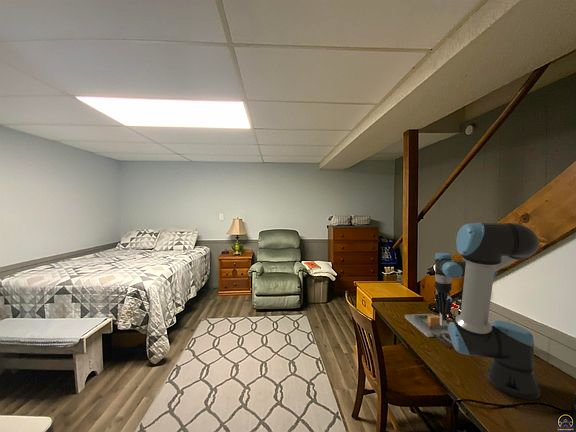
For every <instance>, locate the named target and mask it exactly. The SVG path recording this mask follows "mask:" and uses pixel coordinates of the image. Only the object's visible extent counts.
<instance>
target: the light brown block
mask: <svg viewBox="0 0 576 432" xmlns="http://www.w3.org/2000/svg"><path fill="white" fill-rule="evenodd" d="M428 325H430V326H441V325H440V315H438V314H437V315H435V314H434V315H430V316H428Z"/></svg>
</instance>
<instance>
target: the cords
mask: <svg viewBox="0 0 576 432" xmlns="http://www.w3.org/2000/svg"><path fill="white" fill-rule="evenodd" d="M441 336H442V337H439V336H437V335H435V337H434V338H436V339H437V340H439V341H440V342H441V343H442V344H444V345H445V346H446V348H449V349H450V348H451V345H452V346H453V344H452V341H451V338H450V335H447V336H446V337H445V336H444V335H441ZM445 340H446V341H447V342H448V343H447V342H446V341H445Z"/></svg>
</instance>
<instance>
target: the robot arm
mask: <svg viewBox="0 0 576 432" xmlns="http://www.w3.org/2000/svg"><path fill="white" fill-rule="evenodd" d="M455 244H456V251H457V252H458V254H459V255H461V258H462V259H463V260H464V261H459V260H458V261H457V260H453V257H452V254H451V253H449V252H437V253H435V254H434V273H435V274H434V281H435V282H434V284H435V285H434V287H435V289H436V290H434V291H433V293H434V299H435V305H436V310H438V312H439V316H440V325H441V326H447V324H449V333H450V338H451V339H450V338H449V339H450V340H451V341H452V344H453V345H452V344H451V345H452V346H453V348H454V350H455V351H456V353H458V354H460V355H461V354H462V355H466V356H475V357H481V358H491V359H492V361H491V363H490V366H489V368H488V370H487V380H488V382H489V383H490V385H492V386H493V387H495V388H496V389H498V390H500V391H501V392H503V393H505V394H507V395H509V396H512V397H515V398H517V399H518V398H519V399H523V400H527V401H528V400H529V401H530V400H532V401H533V400H537V399H539V398H540V397H541V387H540V385H539V383H538V380H537V378H536V375H535V372H534V371H535V370H534V369H535V368H534V367H535V366H534V365H535V364H534V363H535V360H534V359H535V358H534V356H535V355H534V354H535V352H534V351H535V346H536V345H535V342H534V341H535V340H534V336H533V334H532V333H531V332H530V331H529V330H528V329H526V328H524V327H522V326H520V325H517V324H515V323H512V322H509V321H504V320H494V321H493V322H492V324H491V323H490V322H489V315H490V307H491V301H492V292H493V284H494V278H496V277H497V275H498V271H499V270H500V269H504V267H507V266H508V265H510V264H512V263H513V262H516V261H523V260H526V259H528V258H530V257H531V256H533V255H535V253H537V251H538V250H539V247H540V239H539V237H538V235H537V234H536V233H535V232H534V231H533V230H532V229H531V228H529V227H528V226H525V225H523V224H521V223H514V222H504V223H503V222H502V223H501V222H500V223H499V222H497V223H495V222H491V223H489V222H487V223H485V222H475V223H474V222H473V223H465V224H464V225H462V226H461V227H460V228H459V230H458V232H457V235H456V241H455ZM459 278H464V279H463V286H462V287H463V288H462V297H461V306H460V309H461V310H460V314H457V315H456V317H455V321H449V323H447V321H448V315H451V312H452V305H453V302H454V298H452V297H451V293H450V292H451V291H452V289H453V288H452V285H453V284H452V279H453V280H454V279H459Z"/></svg>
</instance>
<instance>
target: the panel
mask: <svg viewBox="0 0 576 432" xmlns="http://www.w3.org/2000/svg"><path fill="white" fill-rule="evenodd" d="M430 315H435V314H434V313H414V314H404V318H405V319H406V321H408V322H409V323H410V324H412V326H414V327H415V328H416V329H417V330H418V331H420V332H421V333H422V334H423V335H425V336H426V338H436V337H435V335H437V336H439V337H440V338H443V337H442V336H441V335H444V336H445V337H447V335H450V333H449V323H447V326H430V325H428V316H430Z"/></svg>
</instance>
